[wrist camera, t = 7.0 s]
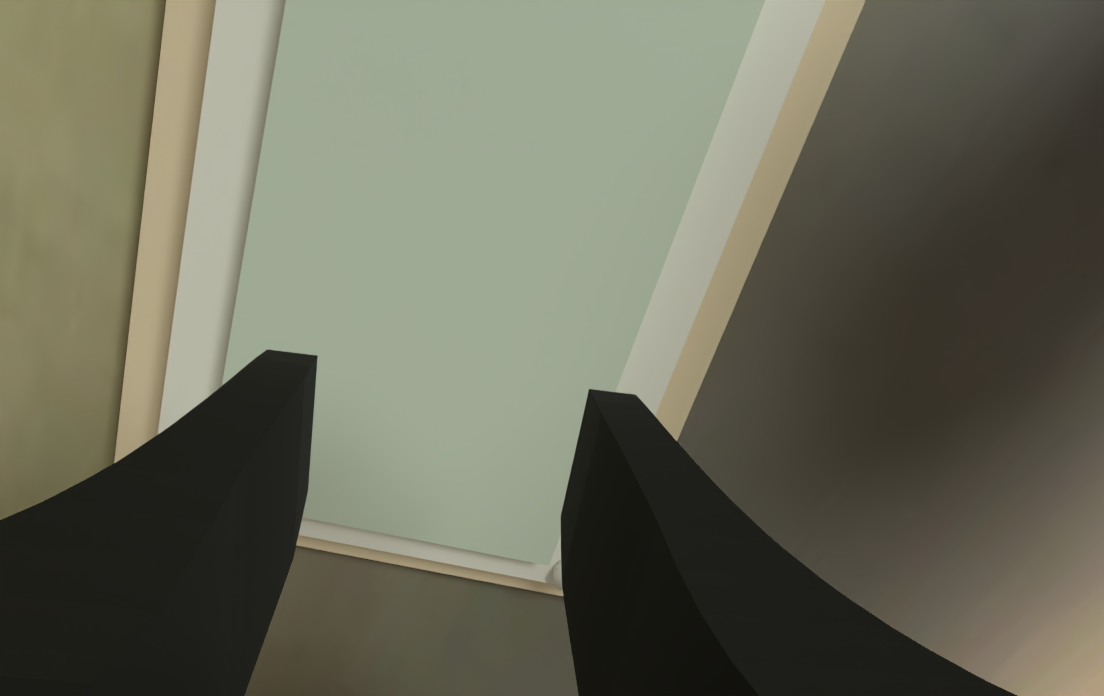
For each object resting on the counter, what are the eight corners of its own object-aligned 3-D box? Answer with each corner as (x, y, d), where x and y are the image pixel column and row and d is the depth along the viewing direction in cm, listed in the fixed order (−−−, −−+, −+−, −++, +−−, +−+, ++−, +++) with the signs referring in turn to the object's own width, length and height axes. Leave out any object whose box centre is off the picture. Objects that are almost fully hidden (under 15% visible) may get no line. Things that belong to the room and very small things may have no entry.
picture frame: (927, -178, 17) (978, -178, 15) (604, 588, 25) (612, 646, 23) (226, -439, 15) (191, -476, 13) (117, 493, 23) (86, 549, 21)
